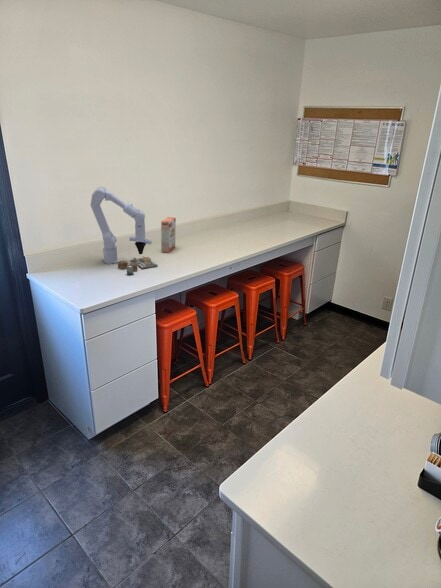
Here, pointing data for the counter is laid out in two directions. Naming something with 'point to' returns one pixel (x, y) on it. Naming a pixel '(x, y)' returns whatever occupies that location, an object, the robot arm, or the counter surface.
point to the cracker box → (168, 234)
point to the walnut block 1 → (122, 265)
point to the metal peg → (129, 269)
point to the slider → (146, 260)
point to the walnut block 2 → (134, 266)
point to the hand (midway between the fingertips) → (140, 253)
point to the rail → (143, 266)
